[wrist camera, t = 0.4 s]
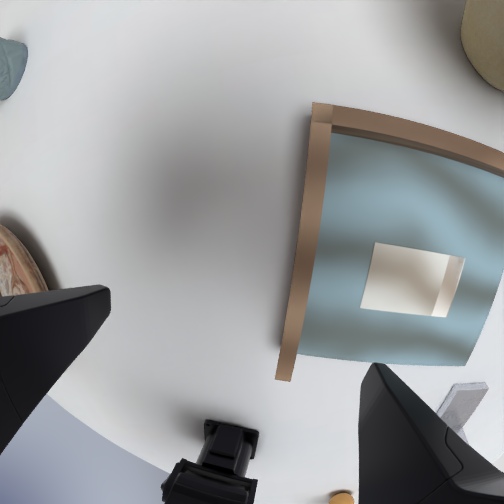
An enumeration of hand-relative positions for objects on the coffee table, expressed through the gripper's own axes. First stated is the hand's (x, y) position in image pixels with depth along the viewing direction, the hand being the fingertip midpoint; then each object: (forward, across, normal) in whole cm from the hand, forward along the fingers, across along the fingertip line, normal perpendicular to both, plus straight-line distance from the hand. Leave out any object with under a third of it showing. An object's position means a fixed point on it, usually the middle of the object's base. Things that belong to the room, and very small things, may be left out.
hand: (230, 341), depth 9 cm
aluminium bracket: (+14, -25, +14) cm, 32 cm away
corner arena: (+14, -12, 0) cm, 18 cm away
